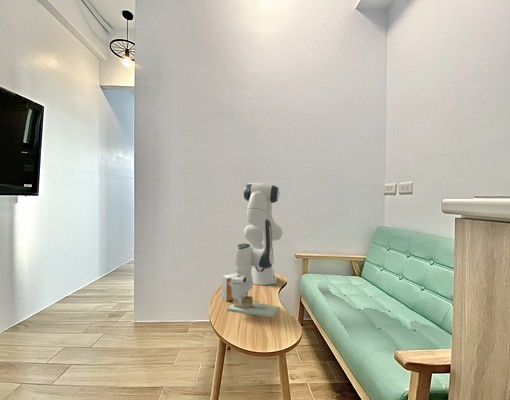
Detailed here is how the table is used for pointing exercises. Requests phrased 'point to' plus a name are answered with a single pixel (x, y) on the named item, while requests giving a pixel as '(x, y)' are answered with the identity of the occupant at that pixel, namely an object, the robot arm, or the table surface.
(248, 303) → the block
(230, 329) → the table surface
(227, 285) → the small box
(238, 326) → the table surface
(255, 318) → the table surface
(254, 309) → the board
